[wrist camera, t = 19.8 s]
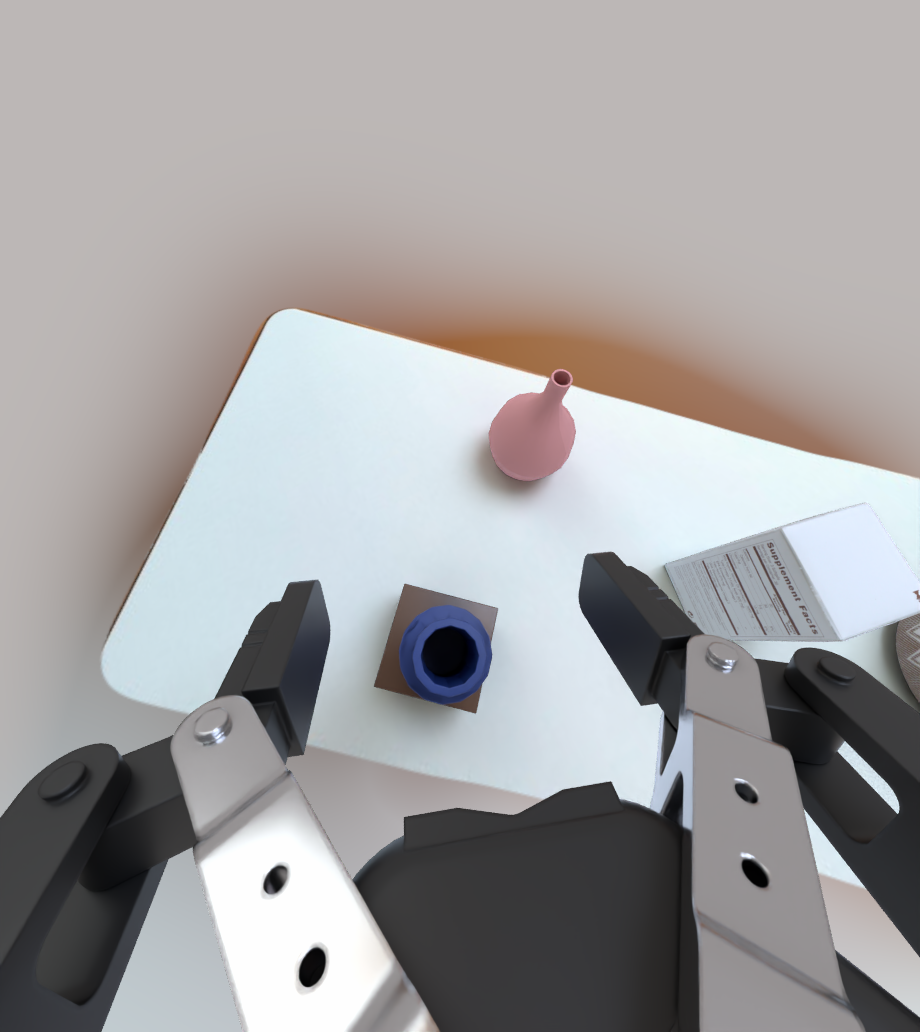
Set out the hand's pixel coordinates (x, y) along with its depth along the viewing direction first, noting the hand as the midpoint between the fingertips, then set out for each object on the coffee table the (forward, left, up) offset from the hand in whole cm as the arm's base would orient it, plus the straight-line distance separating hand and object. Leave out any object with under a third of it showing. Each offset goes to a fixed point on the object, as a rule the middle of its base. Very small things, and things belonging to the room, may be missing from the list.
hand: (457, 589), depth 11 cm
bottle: (0, -2, -16) cm, 16 cm away
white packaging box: (+26, 0, -22) cm, 34 cm away
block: (0, -2, -22) cm, 22 cm away
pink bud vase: (+10, +15, -22) cm, 28 cm away
